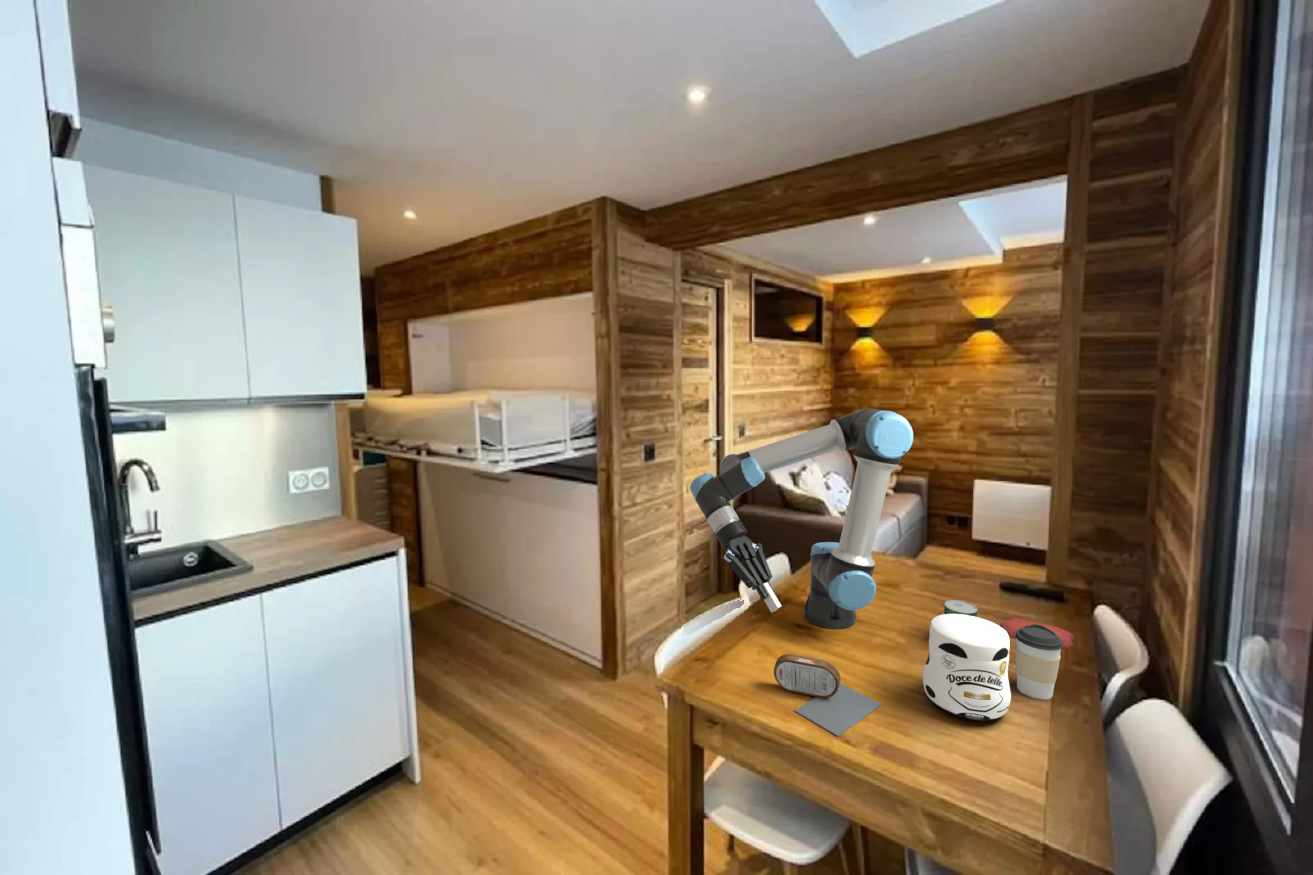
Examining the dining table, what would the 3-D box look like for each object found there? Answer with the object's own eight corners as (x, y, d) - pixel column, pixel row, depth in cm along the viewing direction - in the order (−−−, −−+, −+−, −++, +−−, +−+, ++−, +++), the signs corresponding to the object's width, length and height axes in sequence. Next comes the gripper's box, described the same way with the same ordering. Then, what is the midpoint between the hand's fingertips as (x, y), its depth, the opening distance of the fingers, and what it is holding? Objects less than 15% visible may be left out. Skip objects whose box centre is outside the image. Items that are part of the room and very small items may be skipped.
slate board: (794, 711, 124) (794, 710, 124) (839, 683, 135) (839, 682, 135) (837, 736, 116) (837, 735, 116) (881, 705, 126) (882, 703, 126)
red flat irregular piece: (997, 636, 158) (997, 629, 158) (1002, 618, 169) (1003, 611, 169) (1074, 654, 148) (1074, 647, 147) (1074, 634, 159) (1075, 627, 158)
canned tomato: (979, 653, 148) (982, 613, 147) (947, 650, 150) (949, 611, 148) (969, 638, 156) (971, 601, 154) (938, 636, 157) (940, 599, 156)
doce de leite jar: (971, 737, 115) (976, 654, 113) (904, 692, 131) (908, 619, 129) (1028, 717, 121) (1034, 638, 119) (958, 676, 137) (962, 606, 135)
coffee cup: (1059, 707, 125) (1065, 643, 123) (1011, 694, 129) (1016, 633, 127) (1056, 687, 132) (1061, 627, 130) (1011, 676, 137) (1015, 618, 135)
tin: (840, 696, 129) (840, 661, 128) (839, 703, 126) (839, 667, 125) (775, 683, 135) (775, 649, 134) (772, 689, 133) (772, 656, 132)
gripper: (737, 530, 153) (784, 608, 142) (702, 539, 145) (749, 623, 134) (752, 515, 148) (802, 595, 137) (717, 524, 140) (767, 610, 129)
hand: (776, 609), depth 135 cm, fingers closed
